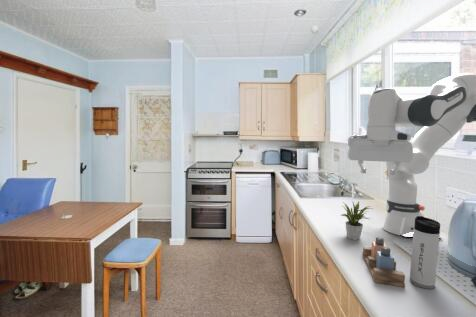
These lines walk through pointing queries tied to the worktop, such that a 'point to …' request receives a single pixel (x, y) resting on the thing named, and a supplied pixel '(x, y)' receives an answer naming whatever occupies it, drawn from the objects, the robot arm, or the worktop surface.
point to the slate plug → (385, 259)
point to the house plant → (354, 221)
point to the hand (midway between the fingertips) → (377, 173)
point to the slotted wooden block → (383, 271)
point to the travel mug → (424, 252)
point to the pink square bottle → (377, 246)
